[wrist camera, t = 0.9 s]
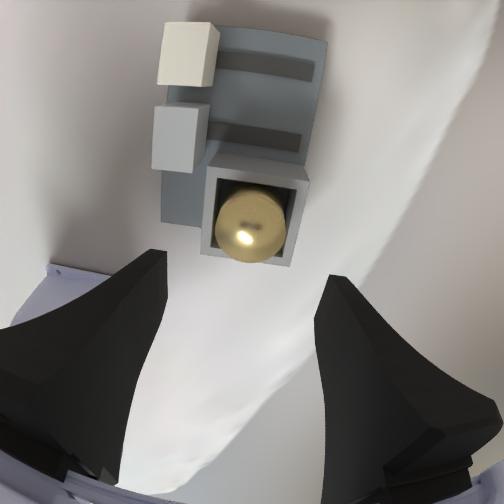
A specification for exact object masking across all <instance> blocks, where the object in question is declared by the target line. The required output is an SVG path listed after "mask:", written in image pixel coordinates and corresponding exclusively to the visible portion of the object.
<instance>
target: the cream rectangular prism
mask: <svg viewBox="0 0 504 504" xmlns="http://www.w3.org/2000/svg"><path fill="white" fill-rule="evenodd" d="M219 39H220V32H219V31H218V30H217V29H216V28H215V27H214V26H213V25H212V24H211V23H209V22H165V26H164V32H163V39H162V46H161V53H160V61H159V69H158V78H157V85H180V86H197V87H206V86H213V79H214V72H215V65H216V58H217V52H218V45H219Z"/></svg>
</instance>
